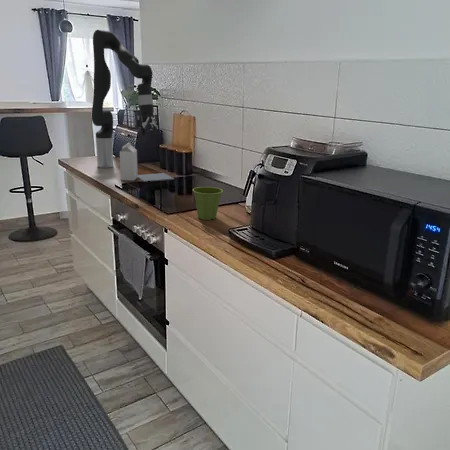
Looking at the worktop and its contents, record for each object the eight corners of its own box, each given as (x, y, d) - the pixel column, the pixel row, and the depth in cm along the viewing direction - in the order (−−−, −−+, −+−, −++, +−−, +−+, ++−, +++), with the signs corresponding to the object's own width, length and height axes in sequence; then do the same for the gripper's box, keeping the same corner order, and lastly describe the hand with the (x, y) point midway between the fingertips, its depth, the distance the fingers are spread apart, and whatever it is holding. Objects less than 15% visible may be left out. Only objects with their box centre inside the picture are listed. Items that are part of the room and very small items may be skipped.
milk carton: (137, 178, 238) (136, 142, 232) (133, 181, 231) (132, 144, 225) (124, 177, 238) (123, 142, 232) (120, 180, 232) (119, 143, 226)
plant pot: (225, 221, 171) (226, 193, 167) (195, 223, 168) (196, 194, 164) (217, 212, 182) (218, 185, 178) (189, 214, 178) (189, 186, 175)
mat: (134, 176, 242) (134, 175, 242) (164, 174, 250) (164, 173, 250) (143, 182, 230) (143, 180, 229) (174, 179, 238) (174, 178, 237)
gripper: (150, 103, 243) (153, 133, 247) (131, 104, 232) (135, 136, 236) (160, 103, 239) (163, 133, 243) (141, 104, 228) (145, 135, 232)
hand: (149, 134), depth 240 cm, fingers open, 8 cm apart
